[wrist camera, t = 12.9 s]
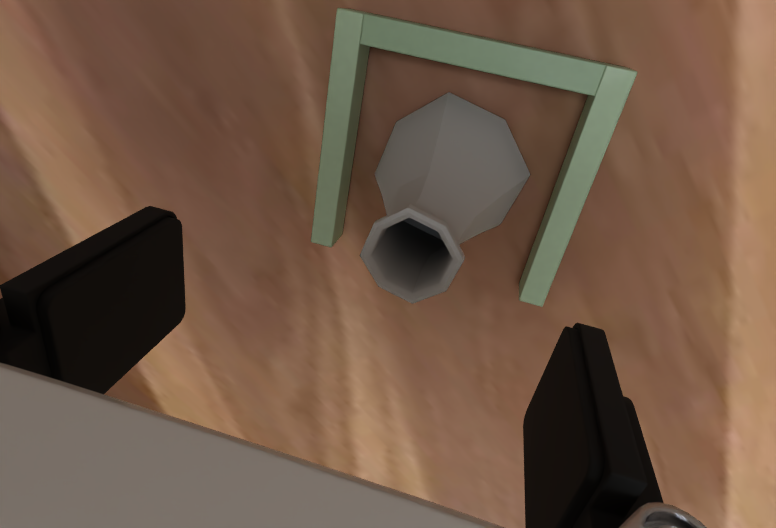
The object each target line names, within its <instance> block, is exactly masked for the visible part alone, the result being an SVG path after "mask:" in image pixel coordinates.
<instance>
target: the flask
mask: <svg viewBox="0 0 776 528" xmlns="http://www.w3.org/2000/svg"><path fill="white" fill-rule="evenodd" d="M529 176H530V173H529V170H528V168H527V166H526V164H525V162H524V160H523V157H522V155H521V153H520V151H519V149H518V147H517V144H516V142H515V140H514V138H513V136H512V134H511V131H510V129H509V127H508V125H507V123H506V121H505V119H503V118H501V117H499V116H497V115H495V114H493V113H491V112H488V111H486V110H484V109H482V108H480V107H478V106H476V105H474V104H472V103H470V102H468V101H466V100H464V99H462V98H460V97H458V96H456V95H454V94H452V93H450V92H448V93H447V94H445V95H443V96H441V97H439V98H438V99H436V100H434V101H432V102H431V103H429V104H427V105H425V106H424V107H422V108H420V109H418V110H416V111H415V112H413V113H411V114H409V115H408V116H406V117H404V118H402V119H400V120H399V121H397V122H396V123H395V126H394V128H393V131H392V133H391V135H390V138H389V140H388V143H387V145H386V147H385V150H384V152H383V155H382V157H381V159H380V162H379V164H378V167H377V169H376V171H375V177H376V180H377V183H378V186H379V188H380V191H381V194H382V198H383V202H384V206H385V209H386V213H387V216H385V217H383V218H380V219H378V220H376V221H375V222H374V224H373V227H372V229H371V231H370V233H369V236H368V238H367V240H366V242H365V245H364V247H363V249H362V251H361V254H360V257H361V258H362V260H363V262H364V263H365V265H366V267H367V268H368V270H369V272H370V273H371V275H372V276H373V278H374V280H375V281H376V283H377V285H378V286H379V287H380V288H382V289H384V290H386V291H388V292H390V293H392V294H394V295H396V296H398V297H400V298H402V299H404V300H406V301H408V302H410V303H412V304H413V303H416V302H418V301H421V300H424V299H426V298H429V297H432V296H434V295H437V294H440V293H442V292H445V291H446V290H447V289H448V287H449V285H450V283H451V282H452V280H453V278H454V277H455V275H456V273H457V271H458V270H459V268H460V266H461V265H462V263H463V261H464V259H465V256H464V253H463V252H462V250H461V248H460V246H459V245H460V244H461V243H463V242H465V241H467V240H469V239H470V238H472V237H474V236H476V235H478V234H480V233H482V232H484V231H487V230H489V229H492V228H494V227H496V226H498V225H500V224H501V223H502V221H503V219H504V218H505V216H506V214H507V213H508V211H509V209H510V208H511V206H512V204H513V203H514V201H515V199H516V198H517V196H518V194H519V193H520V191H521V189H522V188H523V186H524V184H525V183H526V181H527V179H528V178H529Z"/></svg>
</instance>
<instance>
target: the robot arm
mask: <svg viewBox="0 0 776 528" xmlns="http://www.w3.org/2000/svg"><path fill="white" fill-rule="evenodd" d="M0 289H1V293H2V296H3V298H1V299H0V528H504V527H502V526H499V525H496V524H493V523H490V522H487V521H485V520H482V519H479V518H476V517H473V516H470V515H467V514H465V513H462V512H459V511H456V510H453V509H450V508H447V507H444V506H442V505H439V504H436V503H433V502H430V501H427V500H424V499H421V498H418V497H415V496H412V495H409V494H406V493H403V492H400V491H397V490H394V489H391V488H388V487H385V486H382V485H379V484H376V483H373V482H370V481H367V480H364V479H361V478H358V477H355V476H352V475H349V474H346V473H343V472H340V471H337V470H334V469H331V468H328V467H325V466H322V465H319V464H316V463H313V462H310V461H307V460H304V459H301V458H298V457H295V456H292V455H289V454H286V453H283V452H280V451H277V450H273V449H270V448H267V447H264V446H261V445H258V444H255V443H252V442H249V441H246V440H243V439H240V438H237V437H234V436H231V435H228V434H225V433H221V432H218V431H215V430H212V429H209V428H206V427H203V426H200V425H197V424H194V423H191V422H188V421H185V420H181V419H178V418H175V417H172V416H169V415H166V414H163V413H160V412H157V411H154V410H150V409H147V408H144V407H141V406H138V405H135V404H132V403H129V402H125V401H122V400H119V399H116V398H113V397H110V396H107V395H104V394H105V393H106V392H107V391H108V390H109V389H110V388H111V387H112V386H113V385H114V384H115V383H116V382H117V381H118V380H119V379H121V378H122V377H123V376H124V375H125V374H126V373H127V372H128V371H129V370H130V369H131V368H132V367H133V366H134V365H135V364H137V363H138V362H139V361H140V360H141V359H142V358H143V357H144V356H145V355H146V354H147V353H148V352H149V351H150V350H151V349H153V348H154V347H155V346H156V345H157V344H158V343H159V342H160V341H161V340H162V339H163V338H164V337H165V336H166V335H168V334H169V333H170V332H171V331H172V330H173V329H174V328H175V327H176V326H177V325H178V324H179V323H180V322H181V321H182V319H183V317H184V314H185V285H184V261H183V238H182V224H181V222H180V221H179V220H178V219H177V217H176V215H175V214H174V213H173V212H171V211H167V210H163V209H160V208H156V207H152V206H148V207H145V208H144V209H142V210H140V211H138V212H136V213H134V214H132V215H130V216H129V217H127V218H125V219H123V220H121V221H119V222H117V223H116V224H114V225H112V226H110V227H108V228H106V229H104V230H102V231H101V232H99V233H97V234H95V235H93V236H91V237H89V238H88V239H86V240H84V241H82V242H80V243H78V244H76V245H74V246H73V247H71V248H69V249H67V250H65V251H63V252H61V253H60V254H58V255H56V256H54V257H52V258H50V259H48V260H46V261H45V262H43V263H41V264H39V265H37V266H35V267H33V268H32V269H30V270H28V271H26V272H24V273H22V274H20V275H18V276H17V277H15V278H13V279H11V280H9V281H7V282H5V283H4V284H2V285H0ZM523 436H524V479H525V521H526V528H706V527H705V526H704V525H703V524H702V523H701V522H700V521H698V520H697V519H696V518H694V517H693V516H691V515H690V514H689V513H687V512H685V511H683V510H681V509H679V508H677V507H675V506H673V505H669V504H665V503H663V500H662V496H661V493H660V490H659V487H658V483H657V480H656V477H655V473H654V470H653V467H652V464H651V460H650V457H649V454H648V450H647V447H646V444H645V441H644V437H643V434H642V431H641V427H640V424H639V421H638V418H637V414H636V411H635V408H634V405H633V403H632V401H631V400H630V399H629V398H627V397H624V396H623V395H622V391H621V388H620V384H619V380H618V377H617V373H616V370H615V366H614V363H613V359H612V356H611V352H610V349H609V345H608V342H607V338H606V335H605V332H604V330H602V329H598V328H595V327H591V326H587V325H584V324H580V323H576V324H575V325H574V326H573V328H570V327H567V326H566V327H565V328H564V329H563V331H562V333H561V335H560V337H559V340H558V342H557V344H556V346H555V349H554V351H553V353H552V355H551V357H550V360H549V362H548V364H547V366H546V369H545V371H544V373H543V375H542V377H541V380H540V382H539V384H538V386H537V389H536V391H535V393H534V395H533V397H532V400H531V402H530V404H529V406H528V409H527V411H526V414H525V418H524V424H523Z"/></svg>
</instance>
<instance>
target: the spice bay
mask: <svg viewBox="0 0 776 528" xmlns="http://www.w3.org/2000/svg"><path fill="white" fill-rule="evenodd" d="M370 47H374V48H379V49H383V50H388V51H392V52H397V53H401V54H406V55H410V56H415V57H419V58H424V59H428V60H433V61H437V62H442V63H446V64H451V65H455V66H460V67H464V68H469V69H473V70H478V71H482V72H487V73H491V74H496V75H500V76H505V77H509V78H514V79H519V80H523V81H528V82H532V83H537V84H541V85H546V86H550V87H555V88H559V89H564V90H568V91H573V92H577V93H582V94H586V95H588V97H587V100H586V102H585V105H584V108H583V111H582V113H581V116H580V119H579V121H578V124H577V127H576V130H575V132H574V135H573V138H572V141H571V143H570V146H569V149H568V151H567V154H566V157H565V160H564V162H563V165H562V168H561V170H560V173H559V176H558V179H557V181H556V184H555V187H554V190H553V192H552V195H551V198H550V200H549V203H548V206H547V209H546V211H545V214H544V217H543V219H542V222H541V225H540V228H539V230H538V233H537V236H536V239H535V241H534V244H533V247H532V249H531V252H530V255H529V258H528V260H527V263H526V266H525V268H524V271H523V274H522V277H521V279H520V282H519V300H520V301H523V302H527V303H530V304H534V305H537V306H541V307H542V306H543V304H544V301H545V299H546V297H547V294H548V292H549V289H550V287H551V284H552V282H553V279H554V277H555V274H556V272H557V269H558V267H559V265H560V262H561V260H562V257H563V255H564V252H565V250H566V247H567V245H568V242H569V240H570V237H571V235H572V233H573V230H574V228H575V225H576V223H577V220H578V218H579V215H580V213H581V210H582V208H583V205H584V203H585V201H586V198H587V196H588V193H589V191H590V188H591V186H592V183H593V181H594V178H595V176H596V174H597V171H598V169H599V166H600V164H601V161H602V159H603V156H604V154H605V151H606V149H607V146H608V144H609V142H610V139H611V137H612V134H613V132H614V129H615V127H616V124H617V122H618V119H619V117H620V114H621V112H622V110H623V107H624V105H625V102H626V100H627V97H628V95H629V92H630V90H631V87H632V85H633V82H634V80H635V78H636V75H637V71H635V70H632V69H630V68H627V67H623V66H618V65H613V64H609V63H604V62H599V61H594V60H590V59H585V58H580V57H576V56H571V55H566V54H561V53H557V52H552V51H547V50H543V49H538V48H533V47H529V46H524V45H519V44H514V43H510V42H505V41H500V40H496V39H491V38H486V37H481V36H477V35H472V34H467V33H463V32H458V31H453V30H448V29H444V28H439V27H434V26H430V25H425V24H420V23H415V22H411V21H406V20H401V19H397V18H392V17H387V16H382V15H378V14H373V13H368V12H364V11H359V10H354V9H347V8H338V9H337V14H336V23H335V32H334V41H333V50H332V59H331V68H330V76H329V85H328V94H327V103H326V112H325V121H324V130H323V139H322V147H321V156H320V165H319V174H318V183H317V192H316V201H315V210H314V218H313V227H312V236H311V242H313V243H317V244H321V245H324V246H328V247H332V246H333V245H334V244H335V243H336V241H337V240H338V239H339V238H340V237H341V235H342V233H343V226H344V219H345V212H346V206H347V199H348V192H349V185H350V178H351V172H352V165H353V158H354V151H355V145H356V138H357V131H358V124H359V117H360V111H361V104H362V97H363V90H364V83H365V77H366V70H367V63H368V56H369V49H370Z"/></svg>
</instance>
